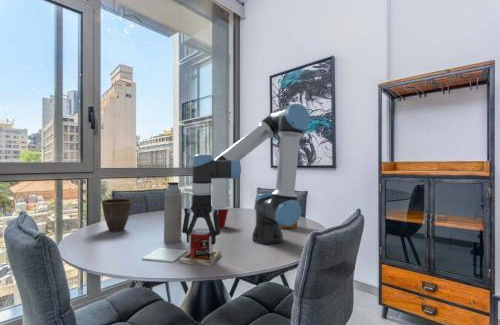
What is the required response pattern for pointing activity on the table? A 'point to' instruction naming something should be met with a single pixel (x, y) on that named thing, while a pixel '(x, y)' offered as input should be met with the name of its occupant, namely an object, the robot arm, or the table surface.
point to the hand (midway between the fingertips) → (200, 251)
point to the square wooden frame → (198, 261)
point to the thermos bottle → (172, 213)
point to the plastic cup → (221, 214)
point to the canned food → (200, 244)
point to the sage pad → (165, 255)
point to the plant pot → (116, 213)
